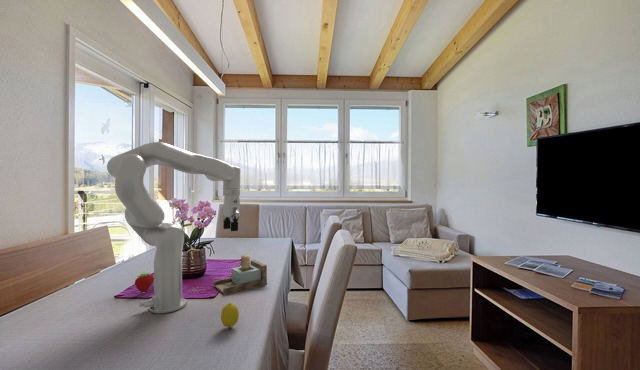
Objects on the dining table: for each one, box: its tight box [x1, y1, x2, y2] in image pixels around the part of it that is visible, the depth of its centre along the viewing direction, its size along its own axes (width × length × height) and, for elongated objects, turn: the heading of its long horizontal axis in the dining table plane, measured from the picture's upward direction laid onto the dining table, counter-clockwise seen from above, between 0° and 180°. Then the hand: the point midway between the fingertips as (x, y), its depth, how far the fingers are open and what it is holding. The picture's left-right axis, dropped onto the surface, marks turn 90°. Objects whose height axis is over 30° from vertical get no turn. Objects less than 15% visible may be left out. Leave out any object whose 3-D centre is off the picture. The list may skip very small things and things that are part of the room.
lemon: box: [220, 302, 240, 329], centre depth 95 cm, size 6×6×8 cm
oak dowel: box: [240, 254, 251, 272], centre depth 137 cm, size 4×4×10 cm
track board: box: [213, 259, 268, 296], centre depth 135 cm, size 20×13×9 cm, turn 128°
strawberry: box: [134, 272, 154, 293], centre depth 126 cm, size 6×8×10 cm
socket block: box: [231, 264, 261, 285], centre depth 137 cm, size 10×10×6 cm
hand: (230, 229), depth 136 cm, fingers open, 9 cm apart
